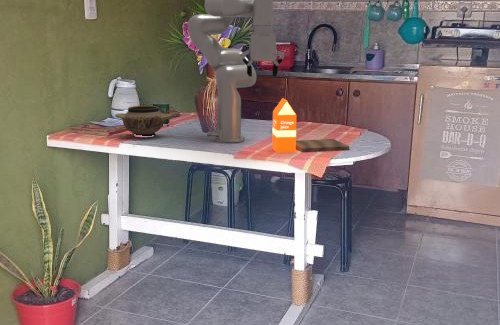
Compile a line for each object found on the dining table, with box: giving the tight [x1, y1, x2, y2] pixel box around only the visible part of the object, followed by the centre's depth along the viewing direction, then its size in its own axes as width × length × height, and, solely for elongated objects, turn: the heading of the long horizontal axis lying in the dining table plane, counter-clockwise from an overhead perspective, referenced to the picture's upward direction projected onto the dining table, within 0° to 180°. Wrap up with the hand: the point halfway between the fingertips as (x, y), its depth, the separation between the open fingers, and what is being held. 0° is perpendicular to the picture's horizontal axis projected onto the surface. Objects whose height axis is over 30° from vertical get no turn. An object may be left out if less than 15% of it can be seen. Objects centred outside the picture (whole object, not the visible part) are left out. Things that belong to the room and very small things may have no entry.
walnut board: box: [296, 138, 350, 153], centre depth 241 cm, size 20×16×2 cm
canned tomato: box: [152, 101, 171, 124], centre depth 288 cm, size 8×8×11 cm
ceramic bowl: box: [114, 105, 173, 136], centre depth 259 cm, size 24×18×15 cm
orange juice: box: [271, 98, 297, 153], centre depth 233 cm, size 8×9×20 cm
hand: (262, 76), depth 230 cm, fingers open, 9 cm apart
